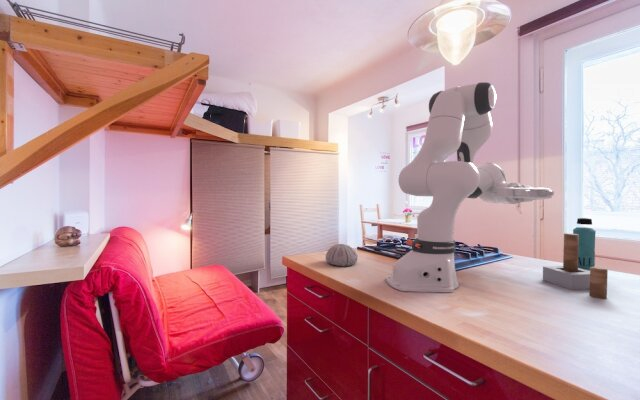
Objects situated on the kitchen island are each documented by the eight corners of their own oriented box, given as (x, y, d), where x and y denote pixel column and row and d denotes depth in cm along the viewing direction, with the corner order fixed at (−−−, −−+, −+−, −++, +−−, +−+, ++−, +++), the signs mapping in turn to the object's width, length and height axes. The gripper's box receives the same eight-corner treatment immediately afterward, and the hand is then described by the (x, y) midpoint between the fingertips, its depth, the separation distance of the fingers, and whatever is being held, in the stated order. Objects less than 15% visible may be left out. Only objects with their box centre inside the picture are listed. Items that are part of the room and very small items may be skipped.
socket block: (571, 289, 90) (571, 274, 90) (542, 279, 100) (543, 266, 100) (600, 288, 91) (600, 273, 91) (569, 278, 101) (569, 265, 101)
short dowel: (599, 298, 82) (599, 270, 82) (585, 294, 86) (586, 267, 85) (610, 298, 83) (611, 269, 82) (596, 293, 86) (597, 266, 86)
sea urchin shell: (347, 258, 131) (347, 240, 131) (364, 265, 119) (364, 245, 118) (320, 261, 125) (320, 243, 125) (335, 269, 113) (335, 248, 113)
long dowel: (570, 285, 93) (571, 235, 93) (559, 282, 97) (561, 233, 96) (580, 285, 94) (581, 235, 93) (569, 281, 97) (570, 233, 97)
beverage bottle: (585, 270, 111) (586, 217, 111) (600, 275, 105) (601, 219, 104) (566, 270, 112) (568, 217, 111) (580, 275, 105) (581, 218, 105)
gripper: (487, 184, 119) (514, 183, 105) (533, 185, 121) (565, 184, 108) (486, 200, 119) (513, 201, 105) (533, 201, 121) (564, 202, 108)
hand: (540, 192), depth 106 cm, fingers open, 8 cm apart
